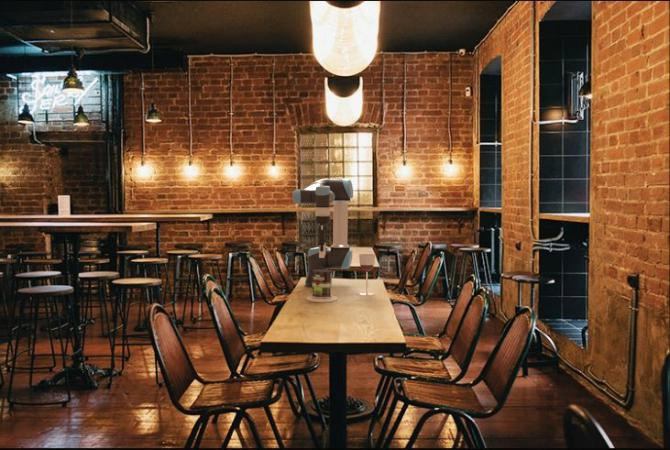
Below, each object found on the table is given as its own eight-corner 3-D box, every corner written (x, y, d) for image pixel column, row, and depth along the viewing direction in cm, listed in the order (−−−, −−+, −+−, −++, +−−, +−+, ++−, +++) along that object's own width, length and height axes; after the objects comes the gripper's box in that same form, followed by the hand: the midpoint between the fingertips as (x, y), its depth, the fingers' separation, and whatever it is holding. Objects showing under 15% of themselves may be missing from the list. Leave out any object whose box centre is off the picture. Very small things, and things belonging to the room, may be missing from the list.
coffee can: (325, 299, 306) (326, 271, 305) (308, 297, 311) (308, 270, 310) (335, 296, 315) (335, 269, 314) (318, 294, 320) (318, 268, 319)
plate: (307, 296, 321) (307, 294, 321) (337, 297, 321) (337, 294, 321) (305, 302, 305) (305, 299, 305) (336, 302, 305) (336, 299, 305)
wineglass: (374, 292, 337) (375, 253, 336) (374, 295, 327) (374, 255, 326) (359, 292, 338) (359, 253, 337) (358, 295, 328) (358, 255, 327)
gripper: (316, 214, 324) (316, 253, 325) (314, 216, 299) (313, 258, 300) (330, 214, 324) (330, 253, 325) (329, 216, 299) (328, 259, 300)
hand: (322, 256), depth 312 cm, fingers open, 13 cm apart
